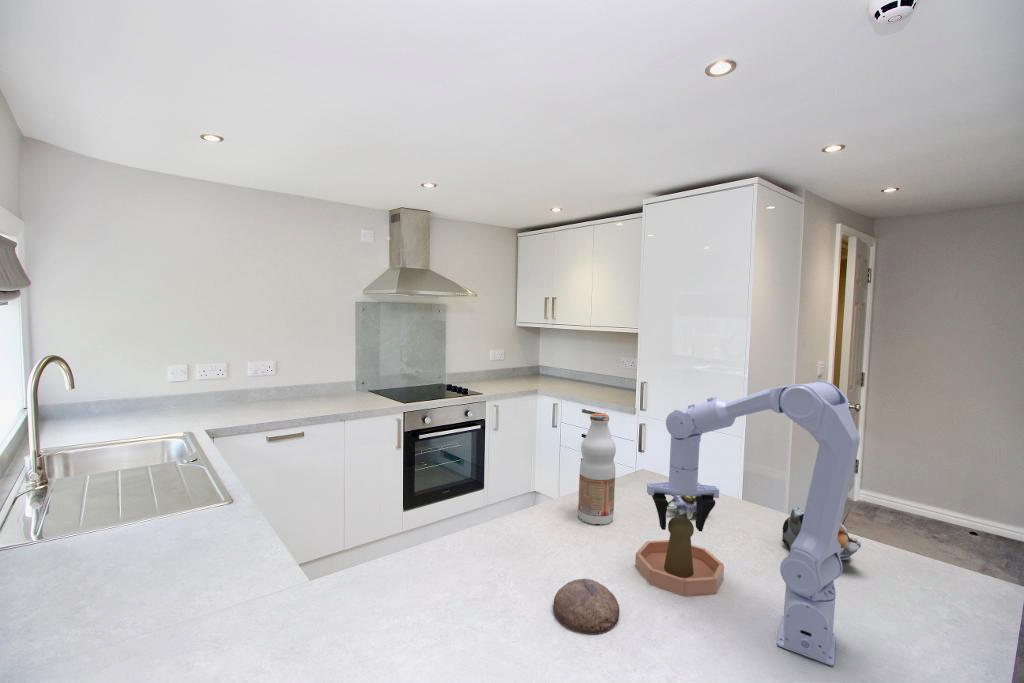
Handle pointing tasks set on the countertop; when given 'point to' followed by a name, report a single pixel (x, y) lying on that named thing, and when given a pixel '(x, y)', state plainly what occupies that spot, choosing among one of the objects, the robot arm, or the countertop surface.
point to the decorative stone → (586, 606)
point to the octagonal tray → (653, 571)
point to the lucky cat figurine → (794, 526)
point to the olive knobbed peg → (679, 548)
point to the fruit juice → (597, 473)
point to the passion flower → (684, 505)
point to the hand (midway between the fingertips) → (680, 528)
